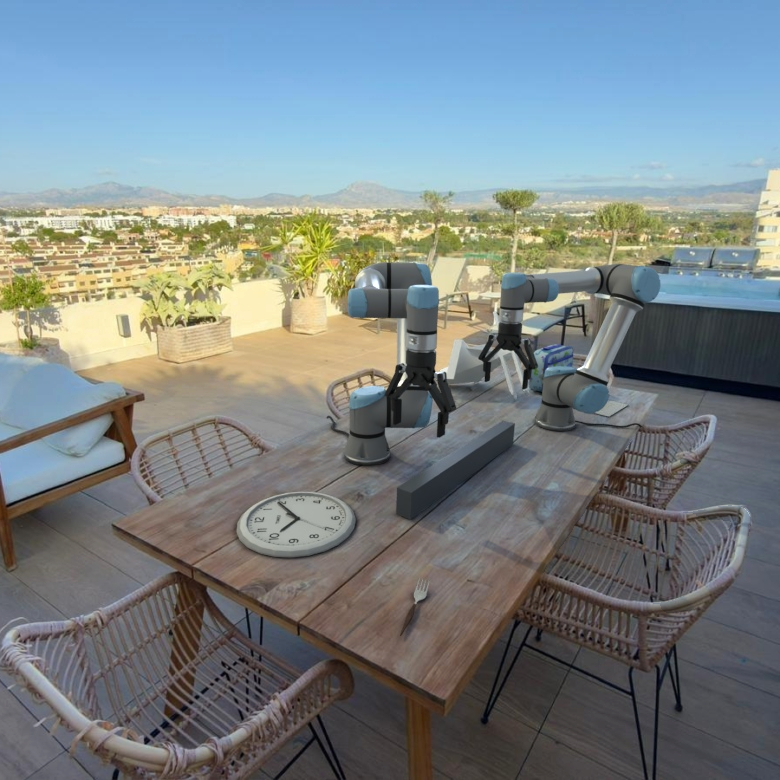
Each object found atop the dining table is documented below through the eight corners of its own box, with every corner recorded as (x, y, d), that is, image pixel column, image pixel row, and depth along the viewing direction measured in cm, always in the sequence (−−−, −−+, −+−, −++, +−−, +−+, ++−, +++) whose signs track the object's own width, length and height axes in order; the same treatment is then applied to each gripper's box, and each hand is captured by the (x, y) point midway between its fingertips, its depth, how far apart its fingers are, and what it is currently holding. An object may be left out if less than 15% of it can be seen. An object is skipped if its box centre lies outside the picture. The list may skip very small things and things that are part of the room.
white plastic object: (461, 429, 252) (437, 405, 227) (444, 352, 274) (420, 323, 250) (535, 404, 240) (518, 377, 215) (510, 326, 262) (492, 293, 237)
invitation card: (608, 416, 214) (573, 407, 224) (608, 416, 214) (573, 408, 224) (628, 404, 229) (594, 396, 238) (628, 405, 229) (594, 397, 238)
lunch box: (545, 397, 238) (550, 352, 231) (524, 391, 245) (529, 348, 239) (572, 386, 255) (578, 344, 249) (552, 381, 262) (557, 340, 256)
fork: (393, 636, 97) (393, 627, 97) (418, 584, 112) (419, 576, 111) (406, 640, 96) (407, 631, 96) (430, 587, 111) (430, 579, 110)
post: (500, 441, 188) (502, 420, 186) (513, 444, 185) (515, 423, 183) (396, 514, 139) (396, 487, 137) (410, 519, 136) (411, 492, 134)
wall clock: (357, 549, 121) (224, 553, 118) (357, 555, 121) (224, 559, 118) (354, 487, 149) (247, 489, 147) (354, 492, 150) (247, 495, 147)
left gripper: (372, 344, 133) (371, 422, 139) (457, 360, 119) (452, 446, 125) (389, 339, 139) (388, 414, 145) (473, 354, 125) (468, 436, 131)
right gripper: (470, 319, 173) (467, 380, 180) (543, 328, 159) (536, 394, 165) (481, 316, 179) (477, 375, 185) (552, 324, 165) (545, 389, 171)
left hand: (418, 429), depth 135 cm, fingers open, 13 cm apart
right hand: (505, 384), depth 175 cm, fingers open, 13 cm apart
